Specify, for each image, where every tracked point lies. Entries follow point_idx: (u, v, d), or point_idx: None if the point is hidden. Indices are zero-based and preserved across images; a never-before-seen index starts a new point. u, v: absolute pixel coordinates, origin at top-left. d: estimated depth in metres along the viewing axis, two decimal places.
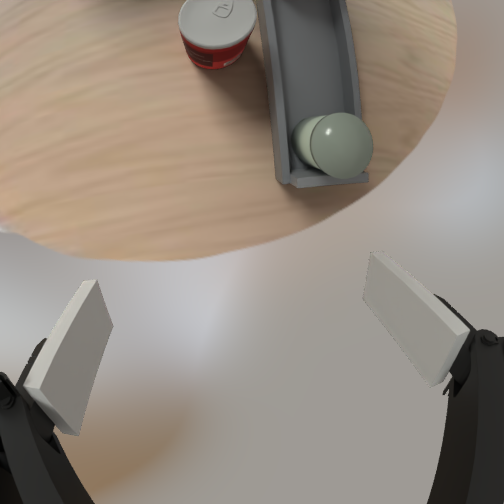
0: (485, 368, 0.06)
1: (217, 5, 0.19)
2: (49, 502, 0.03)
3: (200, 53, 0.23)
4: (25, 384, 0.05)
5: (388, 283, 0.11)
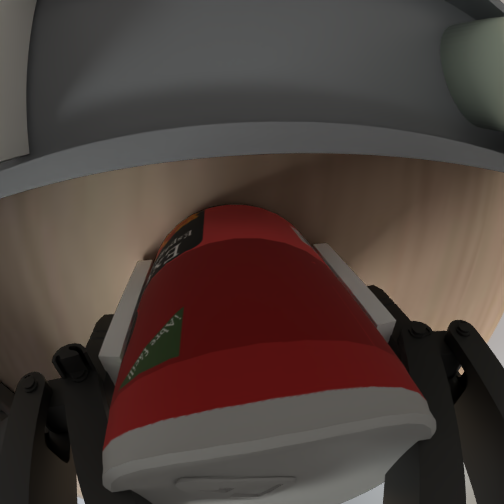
0: (418, 364, 0.06)
1: (223, 494, 0.05)
2: None
3: None
4: (100, 354, 0.07)
5: None
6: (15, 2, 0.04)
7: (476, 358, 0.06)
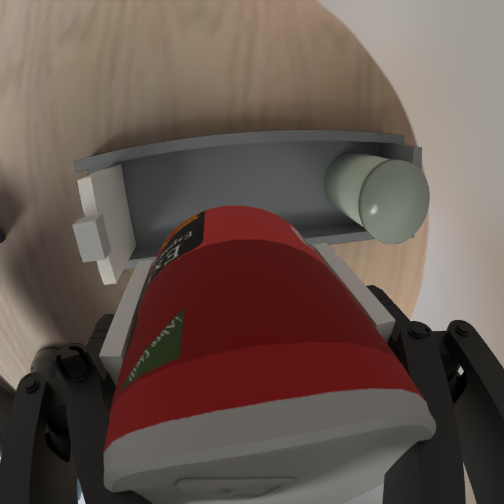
0: (417, 364, 0.06)
1: (223, 494, 0.05)
2: None
3: None
4: (101, 354, 0.07)
5: None
6: (117, 178, 0.23)
7: (476, 358, 0.06)
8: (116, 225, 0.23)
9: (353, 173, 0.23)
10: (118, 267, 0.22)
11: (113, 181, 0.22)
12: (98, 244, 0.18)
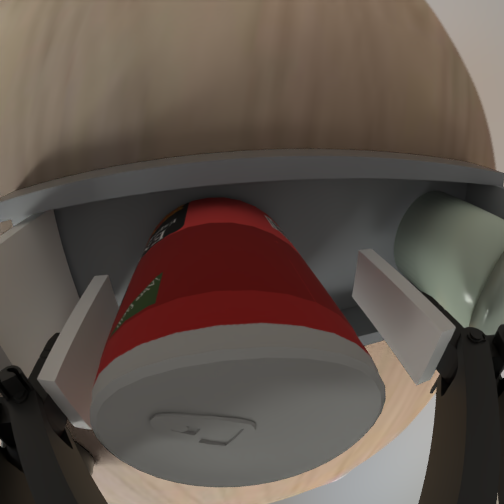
0: (473, 366, 0.06)
1: (193, 440, 0.06)
2: (60, 498, 0.03)
3: None
4: (39, 377, 0.06)
5: (375, 280, 0.12)
6: (42, 240, 0.11)
7: None
8: (46, 333, 0.10)
9: (463, 245, 0.11)
10: None
11: (31, 252, 0.10)
12: None
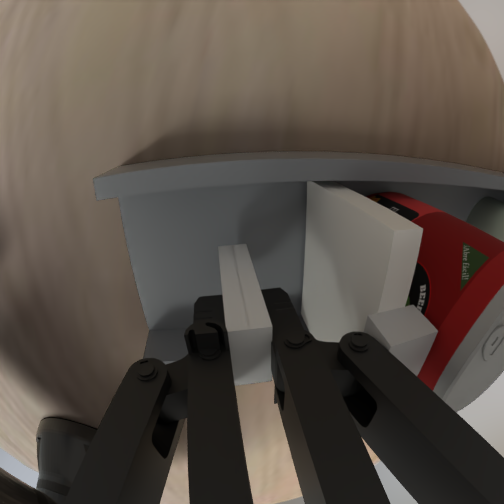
0: (299, 380, 0.07)
1: (484, 355, 0.07)
2: (228, 472, 0.04)
3: None
4: (228, 330, 0.08)
5: None
6: None
7: (381, 377, 0.06)
8: None
9: None
10: None
11: None
12: (416, 369, 0.08)
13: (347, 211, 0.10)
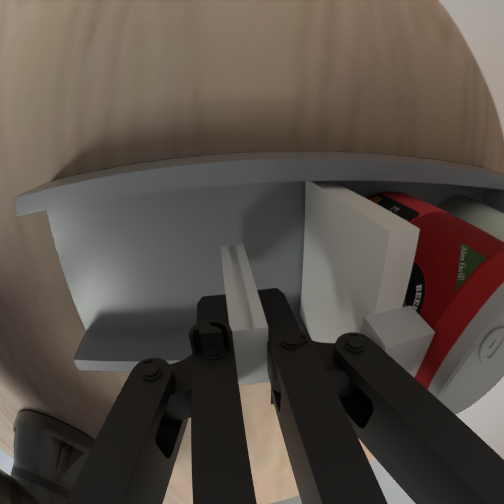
0: (296, 381, 0.07)
1: (481, 358, 0.07)
2: (232, 472, 0.04)
3: None
4: (232, 329, 0.08)
5: None
6: None
7: (378, 378, 0.06)
8: None
9: None
10: None
11: None
12: (413, 371, 0.08)
13: (344, 211, 0.10)
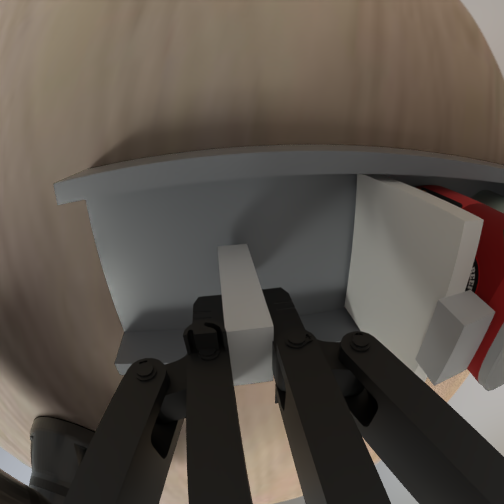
0: (300, 380, 0.07)
1: None
2: (227, 472, 0.04)
3: None
4: (227, 330, 0.08)
5: None
6: None
7: (382, 377, 0.06)
8: None
9: None
10: None
11: None
12: (474, 349, 0.08)
13: (410, 203, 0.10)
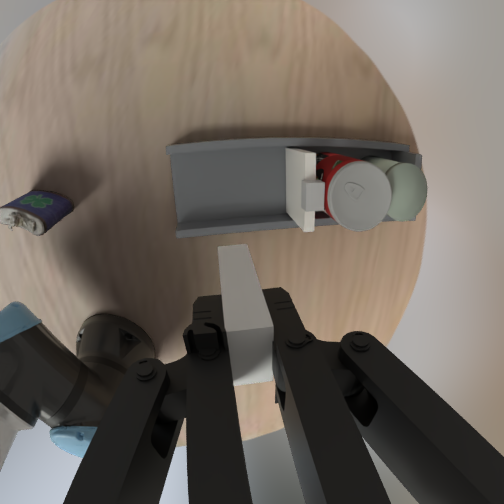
0: (300, 380, 0.07)
1: (350, 196, 0.28)
2: (227, 472, 0.04)
3: None
4: (227, 330, 0.08)
5: None
6: None
7: (382, 377, 0.06)
8: None
9: None
10: None
11: None
12: (322, 199, 0.28)
13: (296, 153, 0.30)
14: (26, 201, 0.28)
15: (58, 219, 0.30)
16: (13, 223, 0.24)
